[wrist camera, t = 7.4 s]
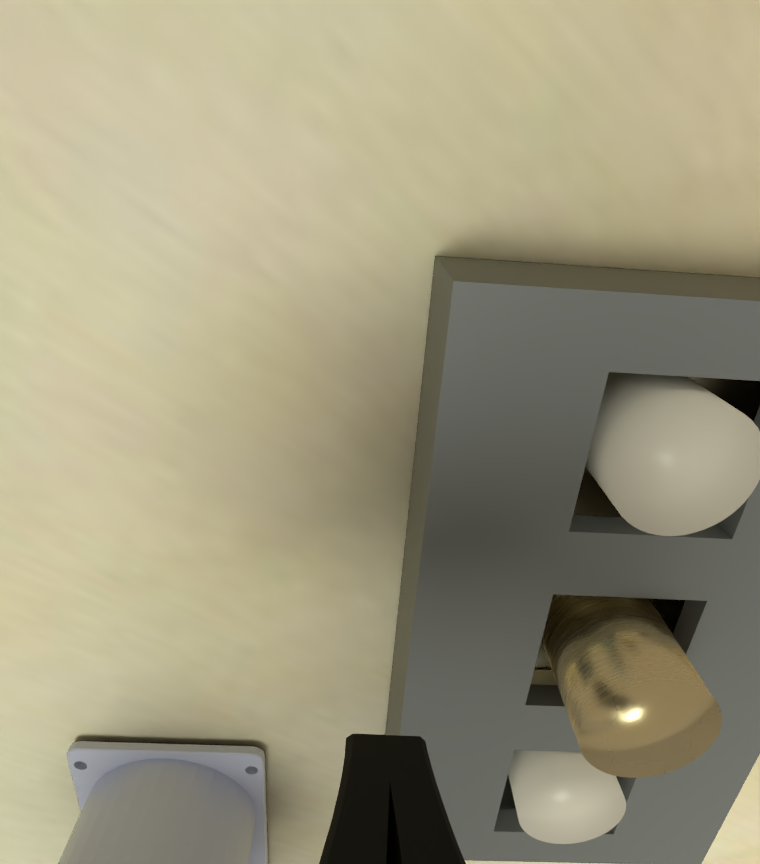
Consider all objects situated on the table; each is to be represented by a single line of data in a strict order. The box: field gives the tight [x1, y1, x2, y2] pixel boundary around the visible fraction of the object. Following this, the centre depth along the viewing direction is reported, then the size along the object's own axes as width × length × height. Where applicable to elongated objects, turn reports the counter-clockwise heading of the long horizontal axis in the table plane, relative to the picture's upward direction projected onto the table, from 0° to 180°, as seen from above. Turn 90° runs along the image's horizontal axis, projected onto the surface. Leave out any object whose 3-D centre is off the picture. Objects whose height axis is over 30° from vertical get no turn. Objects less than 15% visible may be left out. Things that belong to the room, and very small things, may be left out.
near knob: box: [585, 372, 760, 536], centre depth 15 cm, size 4×4×4 cm
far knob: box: [508, 670, 626, 844], centre depth 21 cm, size 4×4×4 cm
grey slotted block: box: [385, 256, 760, 864], centre depth 18 cm, size 21×12×4 cm, turn 176°
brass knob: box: [541, 594, 722, 778], centre depth 16 cm, size 4×4×4 cm
